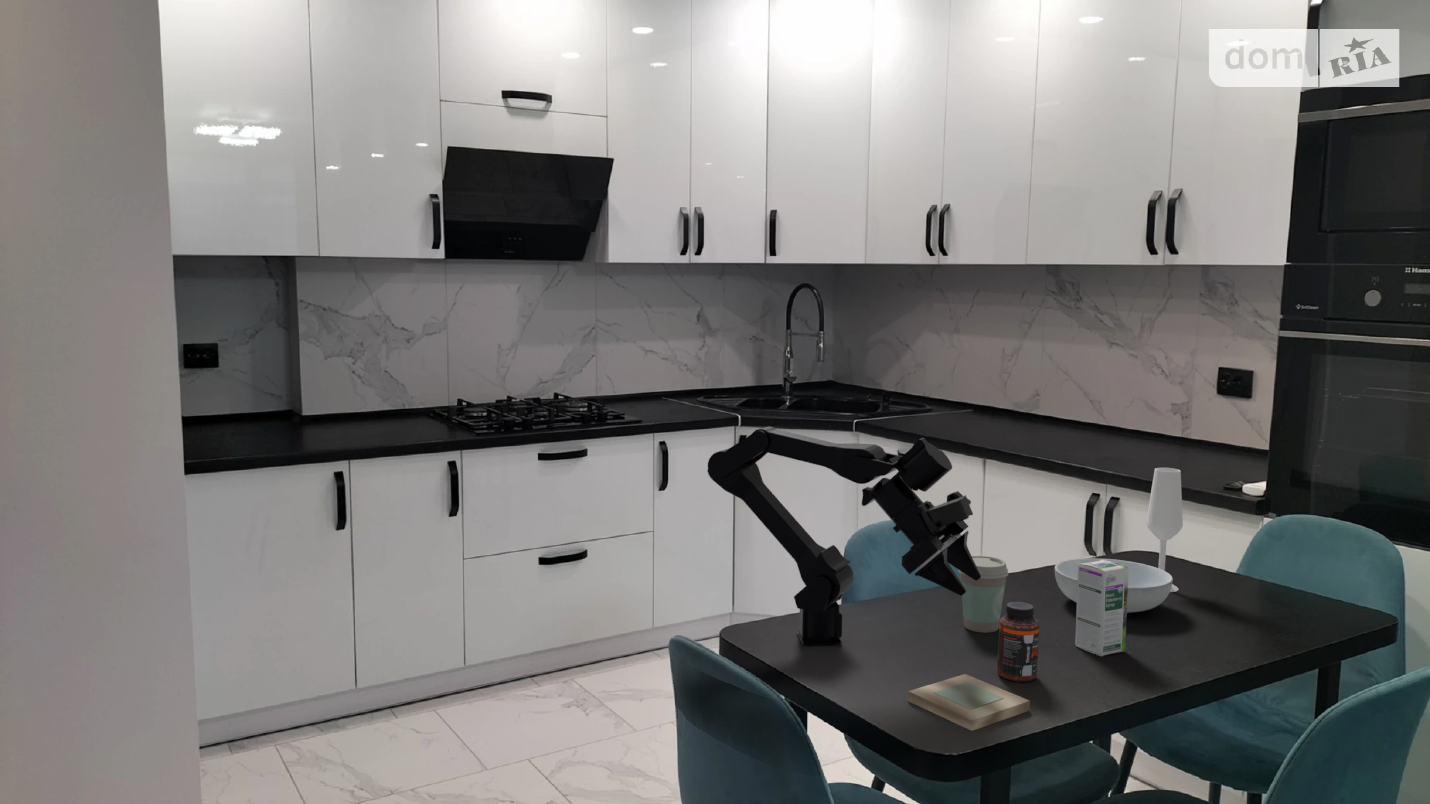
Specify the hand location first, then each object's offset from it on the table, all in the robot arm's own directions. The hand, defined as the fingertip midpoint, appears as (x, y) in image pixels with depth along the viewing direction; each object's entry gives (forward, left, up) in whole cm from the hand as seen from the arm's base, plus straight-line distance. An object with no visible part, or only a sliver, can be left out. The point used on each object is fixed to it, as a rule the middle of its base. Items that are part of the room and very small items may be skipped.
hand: (971, 586), depth 161 cm
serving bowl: (+38, +28, -13) cm, 49 cm away
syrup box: (+25, +6, -13) cm, 29 cm away
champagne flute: (+54, +39, -13) cm, 68 cm away
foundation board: (-5, -15, -13) cm, 20 cm away
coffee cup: (+9, +18, -13) cm, 24 cm away
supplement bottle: (+6, -4, -13) cm, 15 cm away
